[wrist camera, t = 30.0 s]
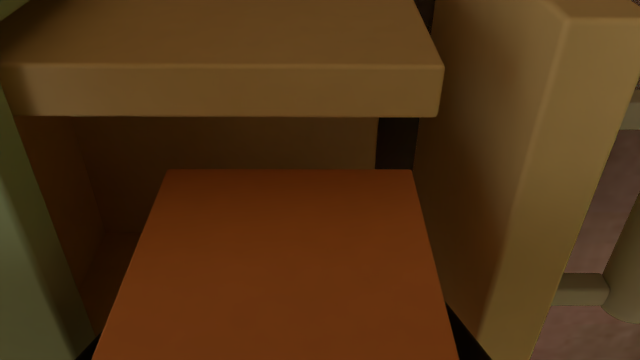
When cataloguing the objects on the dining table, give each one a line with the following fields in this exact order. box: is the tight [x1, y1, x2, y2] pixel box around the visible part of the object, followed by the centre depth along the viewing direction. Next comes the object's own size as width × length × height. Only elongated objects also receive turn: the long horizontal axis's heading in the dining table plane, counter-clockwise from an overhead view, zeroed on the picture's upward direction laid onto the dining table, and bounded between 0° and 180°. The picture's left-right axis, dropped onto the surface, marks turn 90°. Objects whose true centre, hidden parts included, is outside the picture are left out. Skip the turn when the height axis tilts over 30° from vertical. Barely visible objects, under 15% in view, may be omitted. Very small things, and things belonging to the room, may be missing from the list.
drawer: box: [0, 0, 640, 360], centre depth 12 cm, size 16×10×7 cm, turn 90°
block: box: [91, 169, 459, 360], centre depth 9 cm, size 4×4×4 cm
